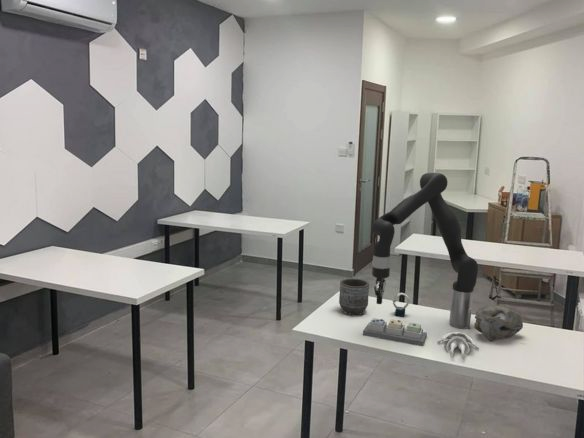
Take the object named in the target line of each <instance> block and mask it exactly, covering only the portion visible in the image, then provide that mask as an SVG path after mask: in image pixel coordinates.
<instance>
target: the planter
mask: <svg viewBox="0 0 584 438" xmlns="http://www.w3.org/2000/svg"><path fill="white" fill-rule="evenodd" d="M369 292H370V283H369V281H367V280H365V279H362V278H351V277H350V278H348V277H347V278H343V279H341V280H340V283H339V295H338V296H339V299H338V303H339V305H340V307H341V310H342V311H343V313H345V314H348V315H351V316H352V315H353V316H357V315H358V316H359V315H362V314H363V313H364V312H365V310H366V309H367V307H368V305H369V294H370V293H369Z"/></svg>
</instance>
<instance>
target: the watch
mask: <svg viewBox="0 0 584 438" xmlns="http://www.w3.org/2000/svg"><path fill="white" fill-rule="evenodd" d="M401 295H402V296H404V297H406V298H407V303H405V305H404V307H403V306H397V305H396V302H397V301H398V300H399V299H400V297H401ZM409 304H410V297H409V296H408V295H407V294H406V293H404V292H397V293H396V294H395V296H394V297H393V299H392V306H393V307H394V308H395V310H394V311H395V312H394V313H395V314H394V317H397V318H398V317H399V318H405V315H406V308H407V307H408V306H409Z"/></svg>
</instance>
